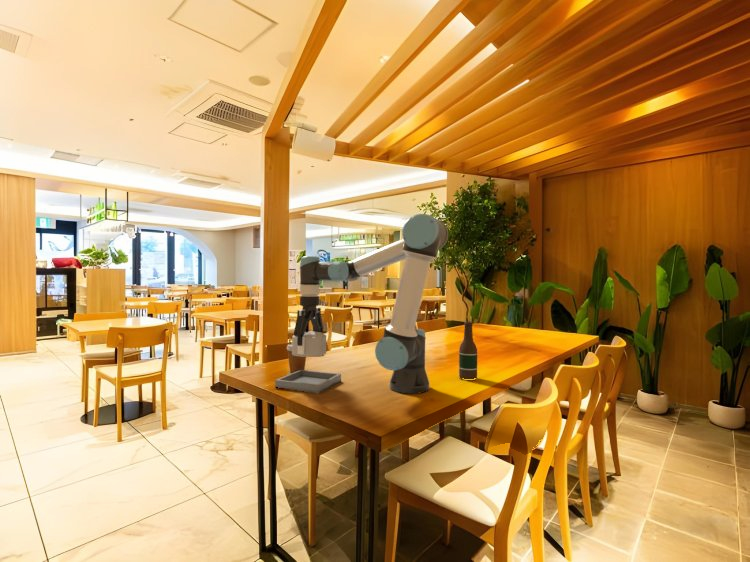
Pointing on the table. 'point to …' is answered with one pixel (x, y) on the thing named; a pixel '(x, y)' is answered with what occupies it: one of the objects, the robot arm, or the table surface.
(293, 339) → the lumpy-topped squat cylinder
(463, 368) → the beer bottle
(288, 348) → the disposable coffee cup
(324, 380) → the charcoal tray
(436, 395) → the table surface
